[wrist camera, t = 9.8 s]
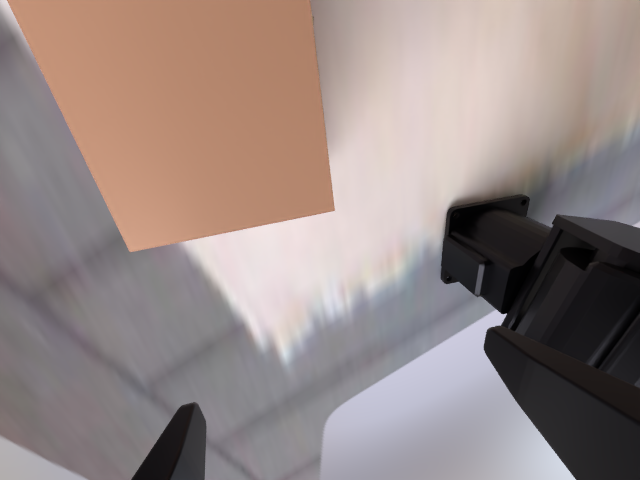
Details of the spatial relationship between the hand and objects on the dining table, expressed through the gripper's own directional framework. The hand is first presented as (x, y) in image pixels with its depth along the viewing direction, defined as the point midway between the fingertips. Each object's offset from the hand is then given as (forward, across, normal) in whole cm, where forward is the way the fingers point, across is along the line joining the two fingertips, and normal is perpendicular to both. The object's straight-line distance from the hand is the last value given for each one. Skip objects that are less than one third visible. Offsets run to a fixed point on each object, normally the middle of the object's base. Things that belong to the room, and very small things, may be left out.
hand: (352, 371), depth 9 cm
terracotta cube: (+8, +3, -7) cm, 11 cm away
